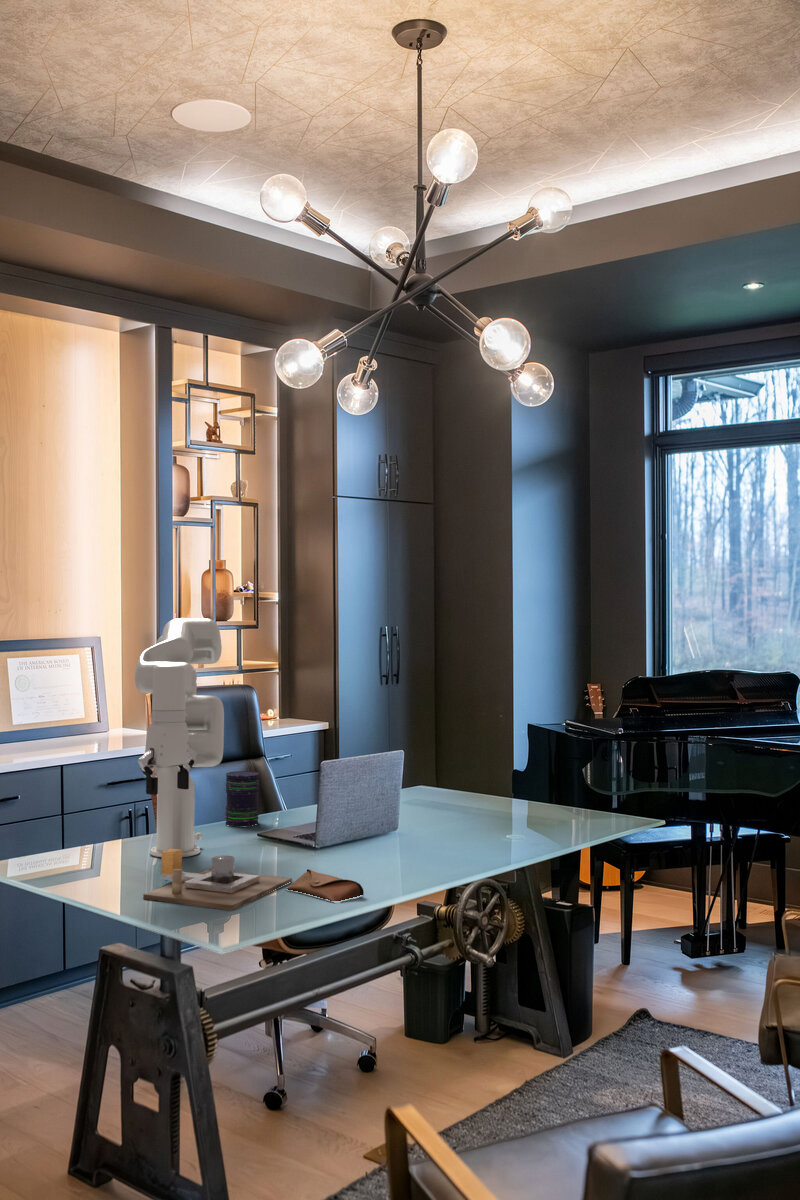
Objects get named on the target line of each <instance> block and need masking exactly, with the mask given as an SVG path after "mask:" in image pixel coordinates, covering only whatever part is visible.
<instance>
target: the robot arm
mask: <svg viewBox="0 0 800 1200" xmlns="http://www.w3.org/2000/svg"><path fill="white" fill-rule="evenodd" d="M222 649H223V647H222V639H221V632H220V628H219V626H218V623H216V621H214V620H213V619H212V618H204V617H203V618H201V617H199V618H197V617H196V618H195V617H191V618H190V617H187V618H186V617H180V618H178V617H177V618H173V619H171V620H169V621H168V622H167V623H166V624H165V625H164V627H163V630H162V634H161V636H160V637H159V638H157V640H156V643H155V644H154V645H153V646H150V647H148V648H146V649H145V650H143V652H142V653H141V654H140V655H139V657H138V660H137V663H136V667H135V673H134V684H135V688H136V689H137V690H138V692H140V693H143V694H151V695H152V696H151V697H152V699H151V700H152V701H151V702H152V703H151V705H152V706H151V712H152V713H151V723H150V724H148V728H147V733H146V738H145V739H146V740H145V750H144V751H145V752H144V754H142V756H140V757H139V758H138V759H137V763H138V765H139V767H140V770H141V772H142V773H143V776H144V777H145V778H146V779H145V793H146V795H152V796H156V845H155V846H152V847H151V848H150V849H149V851H150V852H149V854H150V855H151V856H153V857H156V858H162V851H165V850H168V849H179V850H182V858H189V857H192V856H196V855H198V854H200V852H201V847H200V846H198V845H196V842H197V841H200V840H202V839H203V833H202V832H195V803H196V802H195V801H196V798H195V796H196V794H195V793H196V787H195V786H196V784H195V781H194V779H193V778H192V776H191V775H190V773H191V771H192V768H211V767H215V766H219V764H221V762H222V761H223V756H224V747H225V746H224V741H225V740H224V737H225V710H224V709H225V708H224V704H223V702H222V699H221V698H220V697H219V696H216V695H207V694H205V695H203V694H202V695H201V694H200V695H197V689H198V685H197V684H198V683H197V671H196V669H195V668H194V667H195V666H193V665H211V664H213V665H214V664H216V663H217V662H218V661H219V660H220V659H221V655H222Z"/></svg>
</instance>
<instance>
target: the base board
mask: <svg viewBox="0 0 800 1200" xmlns="http://www.w3.org/2000/svg"><path fill="white" fill-rule="evenodd" d="M209 872H211V868H209V869H206V870H204V871H201V872H198V873H197V874H206V873H209ZM234 873H241V874H250V875H259V876H260V881H258V882H256V883H254V884H251V885H249V886H247V887H244V888H242V889H240V890H238V891H235V892H233V893H226V892H218V891H210V890H202V889H193V888H185V887H184V882H182V893H181V894H172V883H169V884H167V885H164V886H161V887H159V888H156V889H153V890H151V891H149V892H146V893H144V894H142V895H143V896H142V897H143V898H142V899H143V900H147V899H150V901H155V900H158V901H157V902H163V901H165V902H166V903H171V902H172V903H173V904H178V903H180V905H187V906H195V907H204V908H209V909H217V910H225V909H226V911H234V910H236V909H238V908H240V907H243V906H245V905H247V904H248V903H251V902H253V901H255V900H257V898H258V899H260V898H262V897H263V896H262V895H264V896H266V895H268V894H270V893H272V892H271V891H273V890H275V889H277V888H279V887H281V886H283V885H285V884H287V883H289V882H291V881H293V878H292V877H286V876H285V877H281V876H276V875H275V876H274V875H266V874H264V875H263V874H257V873H256V874H255V873H247V872H240V871H234ZM283 887H284V886H283ZM281 888H282V887H281ZM279 889H280V888H279ZM277 890H278V889H277ZM275 891H276V890H275ZM269 892H270V893H269ZM273 892H274V891H273ZM267 893H268V894H267ZM265 894H266V895H265ZM261 896H262V897H261ZM259 897H260V898H259ZM246 903H247V904H246ZM244 904H245V905H244ZM233 909H234V910H233Z"/></svg>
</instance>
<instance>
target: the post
mask: <svg viewBox="0 0 800 1200" xmlns="http://www.w3.org/2000/svg"><path fill="white" fill-rule="evenodd" d="M210 861H211V862H210V863H211V865H210V866H211V867H210V869H211V882H216V883H224V884H229V883H231V882H234V872H235V857H234V856H232V855H215V856H212V857H211V860H210Z"/></svg>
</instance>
